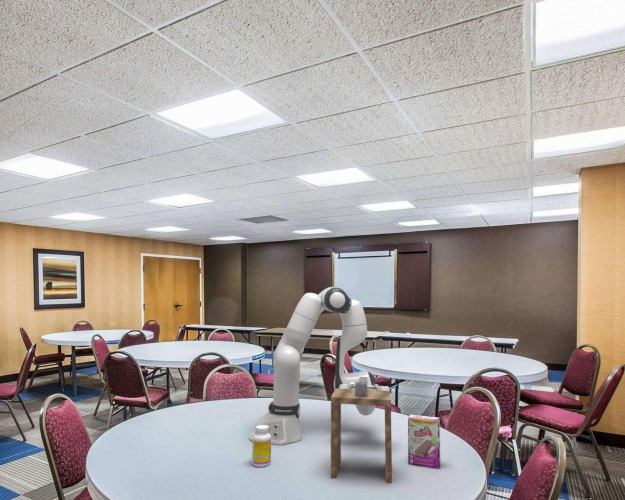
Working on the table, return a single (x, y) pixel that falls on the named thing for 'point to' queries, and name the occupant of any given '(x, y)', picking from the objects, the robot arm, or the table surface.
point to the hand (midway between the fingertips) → (363, 385)
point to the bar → (361, 387)
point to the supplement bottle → (261, 447)
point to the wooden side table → (336, 400)
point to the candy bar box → (424, 441)
